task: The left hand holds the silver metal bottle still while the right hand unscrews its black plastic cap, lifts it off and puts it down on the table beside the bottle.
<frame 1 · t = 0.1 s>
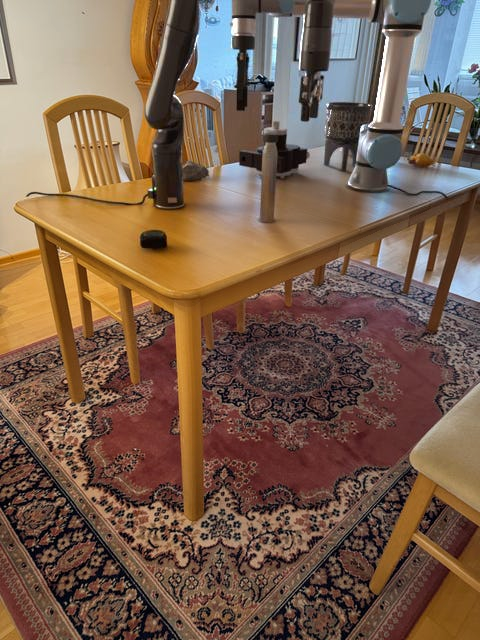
left hand: (309, 119, 122), 29 cm above the table, tool pointing down, fingers open, 8 cm apart
right hand: (242, 108, 155), 28 cm above the table, tool pointing down, fingers open, 13 cm apart
bottle: (266, 220, 140), on the table
planter: (341, 167, 211), on the table
mechanical component: (280, 173, 196), on the table
tape measure: (155, 248, 118), on the table
rock: (194, 179, 184), on the table
cap: (271, 134, 127), point 25 cm above the table, screwed on, not yet turned
figurine: (348, 154, 239), on the table
toy: (418, 166, 216), on the table
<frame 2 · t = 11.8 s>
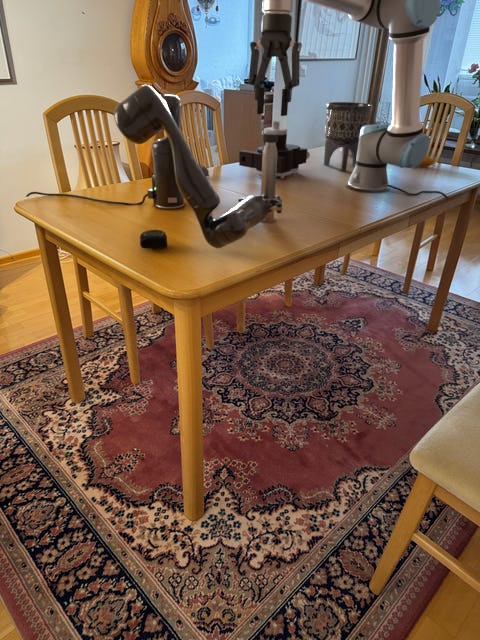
left hand: (270, 197, 139), 6 cm above the table, tool horizontal, fingers closed on bottle, 4 cm apart
right hand: (272, 114, 125), 30 cm above the table, tool pointing down, fingers open, 6 cm apart
bottle: (266, 220, 140), on the table, touching left hand
everything else where it was.
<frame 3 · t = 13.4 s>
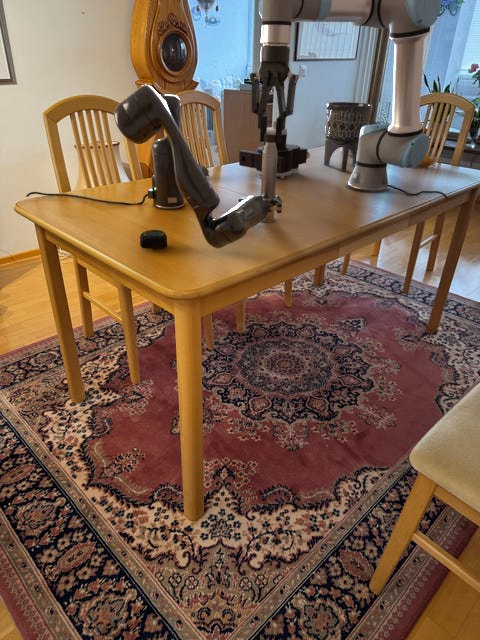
left hand: (270, 197, 139), 6 cm above the table, tool horizontal, fingers closed on bottle, 4 cm apart
right hand: (270, 141, 128), 23 cm above the table, tool pointing down, fingers closed on cap, 4 cm apart
bottle: (266, 220, 140), on the table, touching left hand
cap: (271, 134, 127), point 25 cm above the table, screwed on, not yet turned, touching right hand
everything else where it was.
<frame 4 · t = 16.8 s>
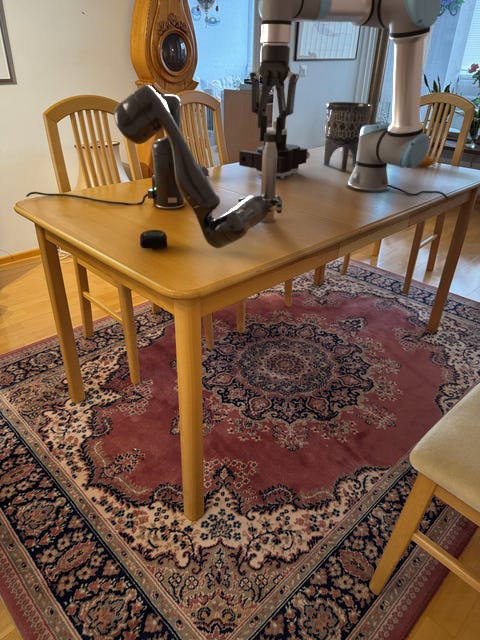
left hand: (270, 197, 139), 6 cm above the table, tool horizontal, fingers closed on bottle, 4 cm apart
right hand: (270, 141, 128), 23 cm above the table, tool pointing down, fingers closed on cap, 4 cm apart
bottle: (266, 220, 140), on the table, touching left hand
cap: (271, 134, 127), point 25 cm above the table, turned 121° so far, risen 0.1 cm, still on its thread, touching right hand
everything else where it was.
when the right hand's fingers open (1 cm above the table, at t = 31.0 s): cap drops 1 cm, point 2 cm above the table.
when the left hand's fingers open (6 cm above the table, at t = 32.2 s): bottle stays where it is, on the table.
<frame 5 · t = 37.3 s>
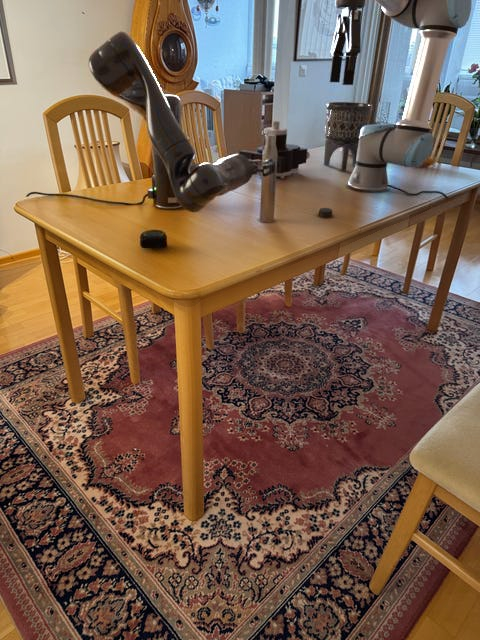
left hand: (256, 161, 121), 19 cm above the table, tool horizontal, fingers open, 8 cm apart
right hand: (340, 83, 126), 38 cm above the table, tool pointing down, fingers open, 13 cm apart
bottle: (266, 220, 140), on the table
cap: (325, 210, 144), point 2 cm above the table, off its thread
everything else where it was.
at the end: cap came off its thread; cap point 1.8 cm above the table; the left hand is holding nothing; the right hand is holding nothing; bottle tilted 0°; bottle moved 0.0 cm from its start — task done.
